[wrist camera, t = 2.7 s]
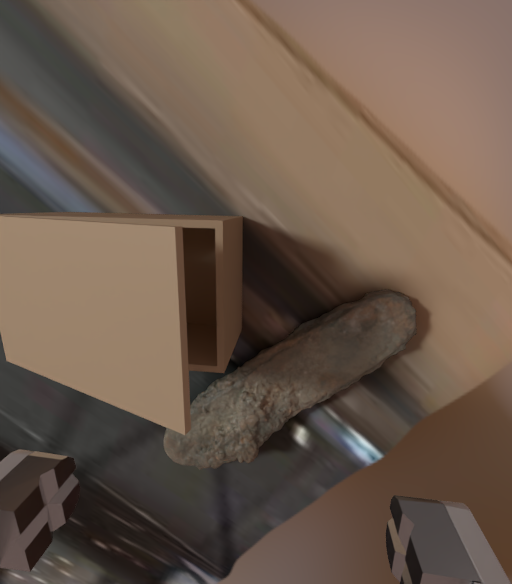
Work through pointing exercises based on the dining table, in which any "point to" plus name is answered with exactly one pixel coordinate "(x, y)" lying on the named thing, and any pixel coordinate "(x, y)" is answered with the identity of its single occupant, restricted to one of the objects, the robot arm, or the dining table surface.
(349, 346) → the long grey stone
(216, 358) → the carton
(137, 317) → the lid flap
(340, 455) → the dining table surface
